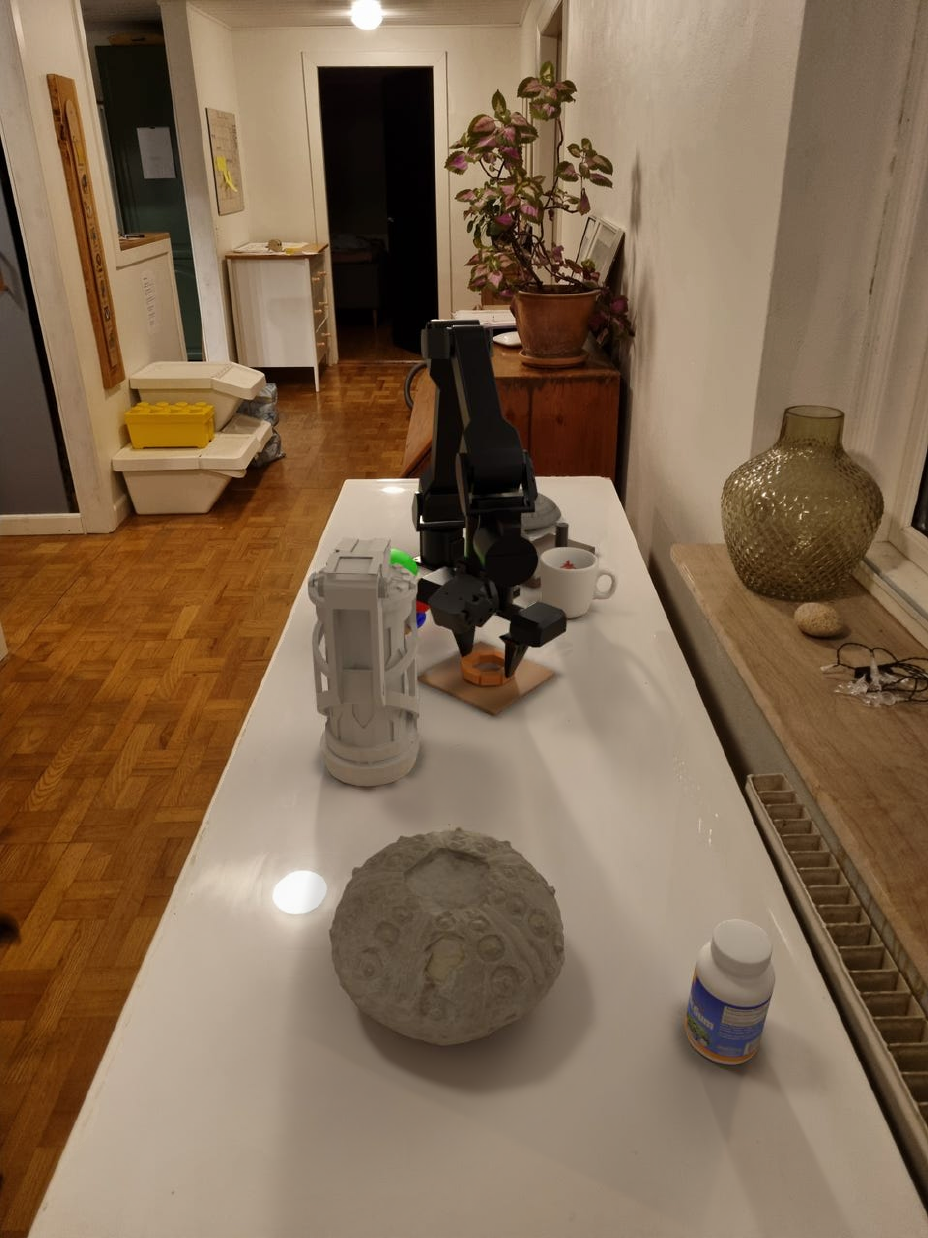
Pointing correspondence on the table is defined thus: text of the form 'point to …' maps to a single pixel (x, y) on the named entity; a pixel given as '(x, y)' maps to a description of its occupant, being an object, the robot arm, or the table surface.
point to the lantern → (366, 663)
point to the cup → (573, 579)
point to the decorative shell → (447, 936)
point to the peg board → (549, 543)
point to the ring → (480, 676)
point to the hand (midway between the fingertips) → (487, 667)
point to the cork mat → (486, 696)
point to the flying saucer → (539, 512)
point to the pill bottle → (731, 993)
